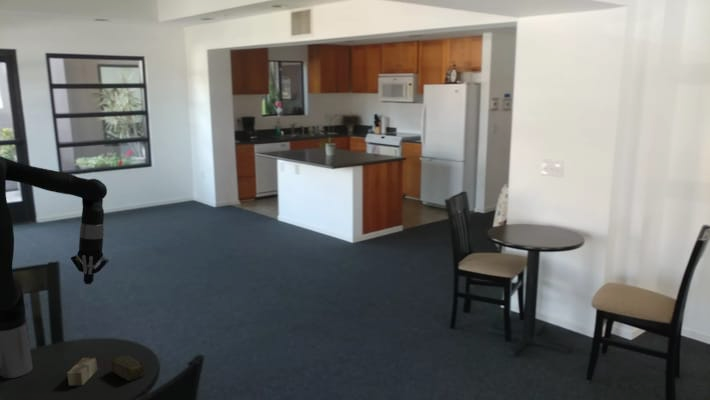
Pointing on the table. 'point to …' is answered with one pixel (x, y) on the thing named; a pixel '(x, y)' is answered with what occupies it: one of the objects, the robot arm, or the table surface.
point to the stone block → (127, 368)
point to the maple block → (82, 371)
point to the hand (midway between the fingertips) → (88, 283)
